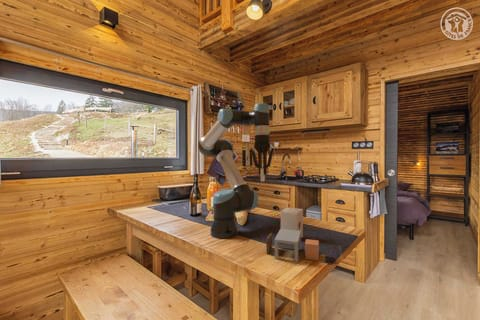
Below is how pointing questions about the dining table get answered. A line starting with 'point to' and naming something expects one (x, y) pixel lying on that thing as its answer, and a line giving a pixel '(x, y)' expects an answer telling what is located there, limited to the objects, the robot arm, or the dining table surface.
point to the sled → (288, 251)
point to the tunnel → (288, 241)
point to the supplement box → (292, 219)
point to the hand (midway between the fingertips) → (262, 181)
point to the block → (312, 249)
